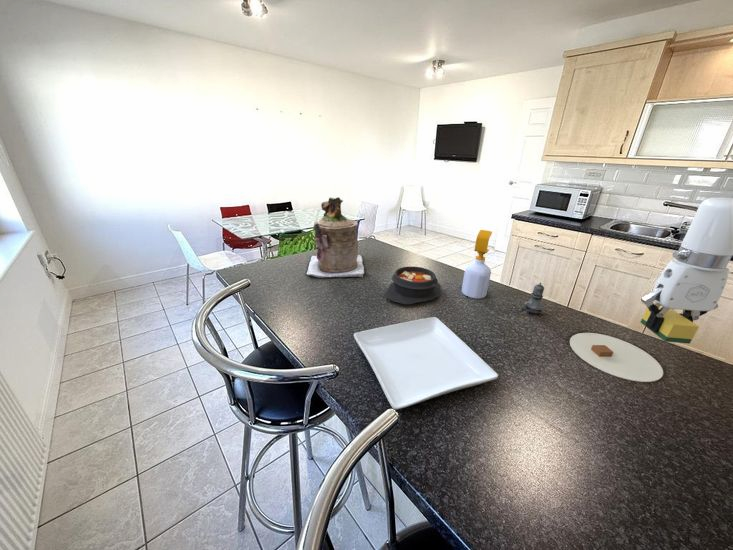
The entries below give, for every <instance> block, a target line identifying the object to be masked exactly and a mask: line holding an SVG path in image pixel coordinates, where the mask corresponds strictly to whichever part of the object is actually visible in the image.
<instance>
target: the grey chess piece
mask: <svg viewBox="0 0 733 550" xmlns="http://www.w3.org/2000/svg"><path fill="white" fill-rule="evenodd" d="M544 290H545V287H544V286H543V284H542V282H539V283H537V284H535V285H534V286H533V290H532V292H531V293H530V295H531V296H530V299H529V300H526V301H524V303H523V304H524V310H522V314H523V315H539V314H540V313H541V312H542V311H543V310H544V308H545V306H544V305H543V304H542V302H541V301H542V298H544V295H543V293H544Z"/></svg>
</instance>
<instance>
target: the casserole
mask: <svg viewBox="0 0 733 550" xmlns="http://www.w3.org/2000/svg"><path fill="white" fill-rule="evenodd" d="M391 280H392V282H391V283H390V285H389V286H388V289H387V290H386V291H385V293H384V296H385V297H386V298H388V299H389V300H391V301H392V302H396V303H398V304H402V305H413V304H416V303H420V302H421V303H422V302H427V301H432V300H433V299H436V298H437V297H438V296H439V294H440V293H439V291H440V288H441V284H440V283H439V280H438V279H437V276H436V273H435V272H433V271H432V270H431V269H428V268H425V267H420V266H411V265H410V266H402V267H399V268H397V269H396V270H395V271H394V273H393V274H392V275H391Z"/></svg>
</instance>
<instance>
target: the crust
mask: <svg viewBox="0 0 733 550" xmlns="http://www.w3.org/2000/svg"><path fill="white" fill-rule="evenodd" d="M591 350H592V351H593V352H594V353H595V354H597V355H598V356H599V357H612V355H613V351H612V350H610V349H609V348H608V347H607V346H606V345H593V346H592V348H591Z"/></svg>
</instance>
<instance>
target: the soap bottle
mask: <svg viewBox="0 0 733 550" xmlns="http://www.w3.org/2000/svg"><path fill="white" fill-rule="evenodd" d="M492 235H493V232H492V230H486V229H480V230H479V232H478V233H477V236H476V240H475V244H474V252H476V253H477V254H478V255H476V256H475V259H474V262H471V263H469V264H467V265H466V267H465V268H464V273H463V279H462V285H461V293H462V294H463V295H464V296H465V297H467V296H468V298H470V299H478V300H479V299H484V298H486V296H487V293H488V290H489V285H490V280H491V275H492V271H491V270H492V269H491V268H490V267H489V266H488V265H487V264H486V263H485V262H486V256H484V255H485V254H488V252H489V251H490V249H489V248H488V246H489V241H490V238H491V236H492Z"/></svg>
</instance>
